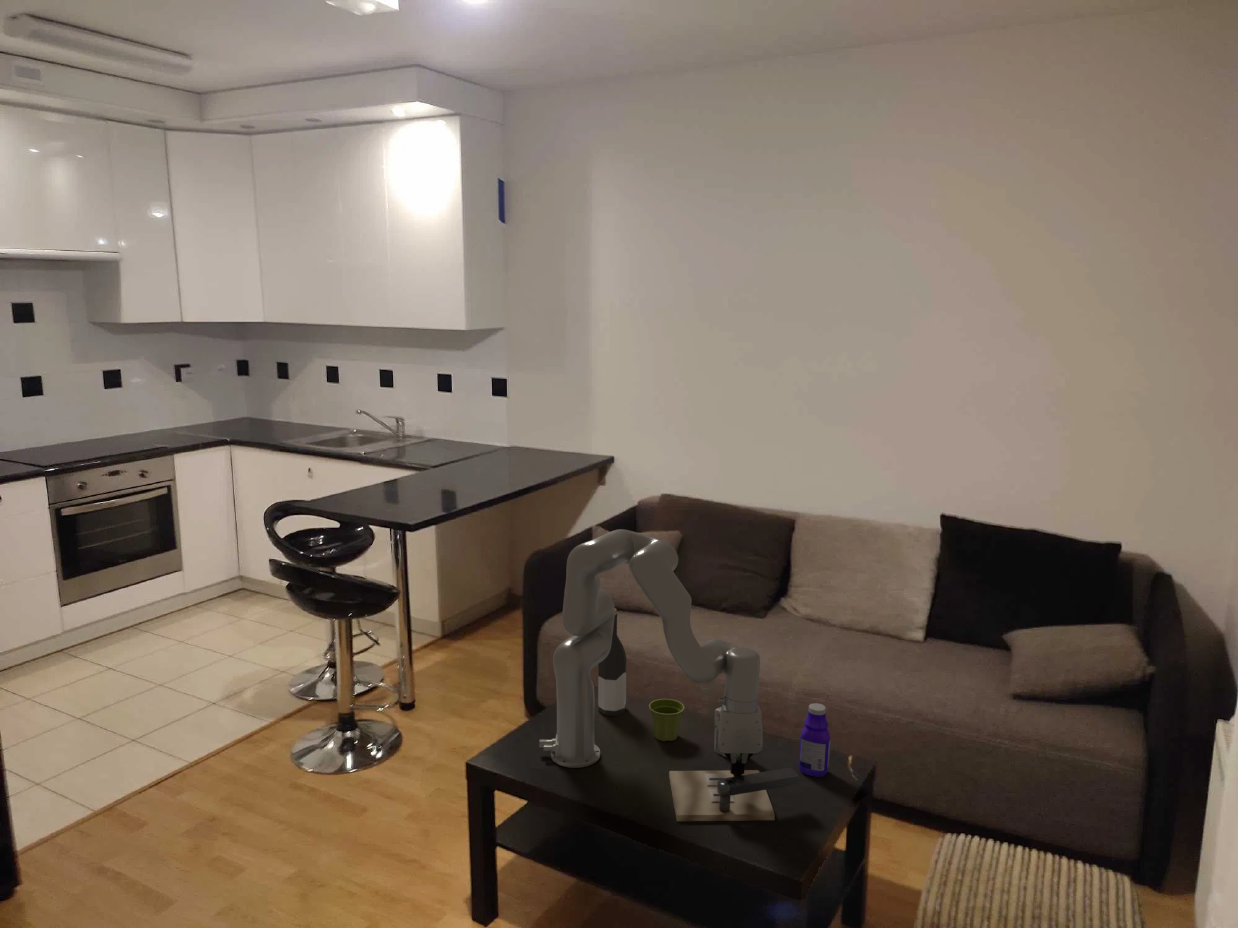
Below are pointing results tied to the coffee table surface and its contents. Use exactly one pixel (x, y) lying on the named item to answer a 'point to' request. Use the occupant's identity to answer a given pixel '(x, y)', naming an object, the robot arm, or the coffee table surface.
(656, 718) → the plant pot
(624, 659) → the wine bottle
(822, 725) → the bottle
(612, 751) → the coffee table surface
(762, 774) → the swing bar
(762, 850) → the coffee table surface
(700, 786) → the label board
